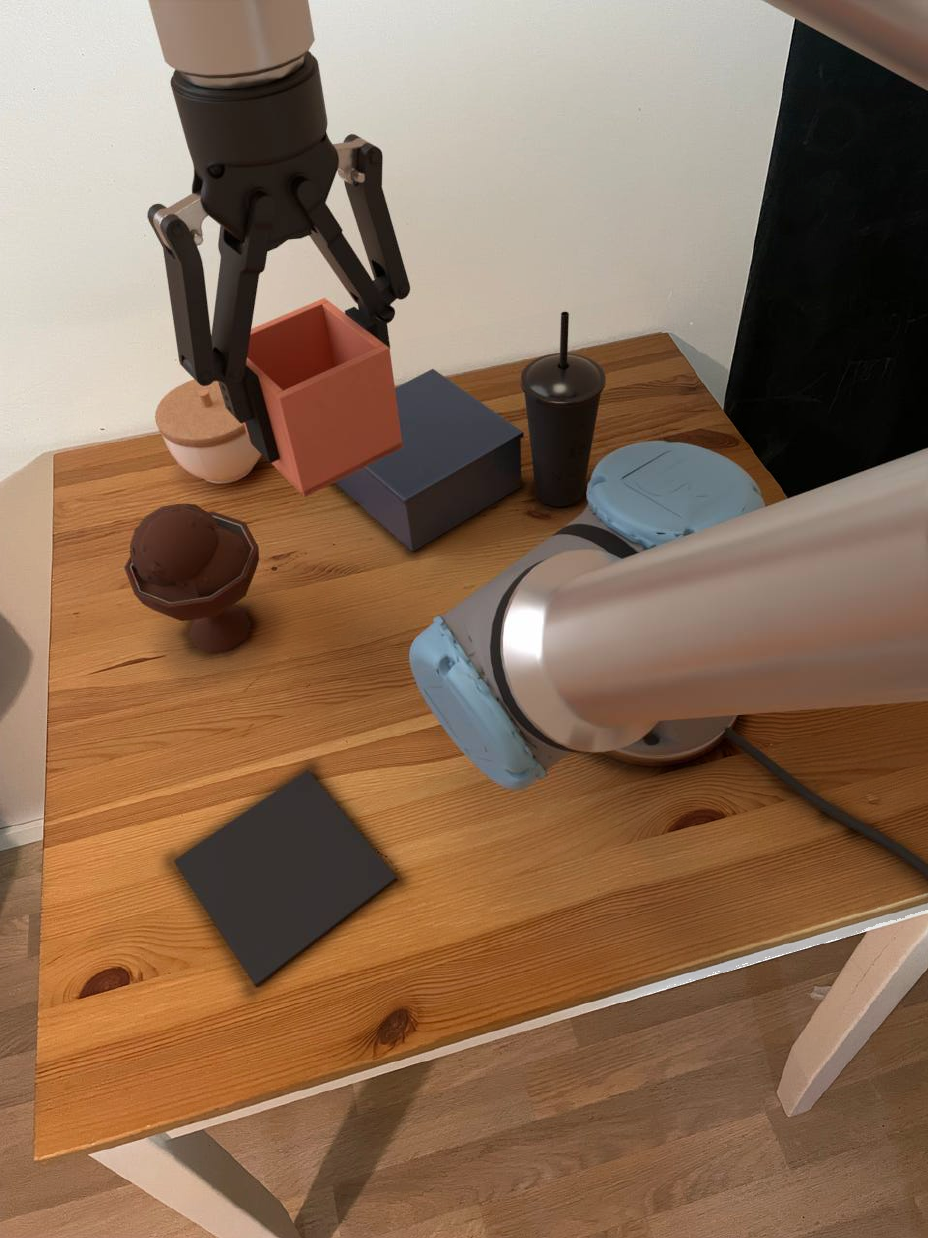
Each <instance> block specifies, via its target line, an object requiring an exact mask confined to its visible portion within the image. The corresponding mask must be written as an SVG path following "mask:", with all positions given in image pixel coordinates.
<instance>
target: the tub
mask: <svg viewBox="0 0 928 1238" xmlns="http://www.w3.org/2000/svg"><path fill="white" fill-rule="evenodd" d="M246 365H247V366H248V367H249V368H250V369H251V370H252V371H253V372H254V373H255V374H256V375H258V377H259V381H260V385H261V389H262V392H263V396H264V400H265V404H266V407H267V411H268V415H269V419H270V422H271V426H272V430H273V434H274V437H275V441H276V445H277V449H278V452H279V456H280V459H278V460H276V461H274V462H272V463H271V465H272V466H273V467H274V468H275V470H277V471H278V472H279V473H280V474H281V475H282V476H283V477H284V478H285V479H286V480H287V481H288V482H289V483H290V484H291V485H292V486H293V487H294V488H295V490H297V491H298V493H300V495H301V496H302V497H303V498H307V497H308V496H310V495H312V494H315V493H316V492H318V491H321V490H322V489H324V488H326V487H328V486H330V485H332V484H335V483H334V482H336V481H338V480H340V479H342V478H344V477H346V476H348V475H350V474H352V473H354V472H356V471H358V470H360V469H362V468H364V467H366V466H368V465H370V464H371V463H373V462H375V461H377V460H379V459H381V458H383V457H385V456H387V455H389V454H391V453H393V452H395V451H397V450H399V449H401V448H403V444H402V436H401V429H400V422H399V414H398V407H397V400H396V392H395V388H396V385H395V378H394V370H393V364H392V356H391V347H390V348H389V347H388V346H386V345H384V343H382V342H381V341H380V340H378V339H377V338H376V337H375V336H373V335H372V334H371V333H369V332H368V331H366V330H365V329H364V328H363V327H361V326H360V325H359V324H357V323H356V322H355V321H354V320H352V319H351V318H350V317H348V316H347V315H346V314H345V311H344V312H343V310H341V309H340V308H338V306H336V305H335V304H333V303H332V302H331V301H329V300H328V299H327V298H325V297H323V298H321V299H318V300H316V301H313V302H311V303H309V304H306V305H304V306H302V307H300V308H297V309H294V310H292V311H290V312H288V313H285V314H282V315H280V316H278V317H276V318H274V319H271V320H269V321H266V322H265V323H262V324H259V325H257V326H255V327H251V334H250V341H249V348H248V355H247V362H246ZM244 426H245V430H246V433H247V437H248V440H249V441H250V438H249V434H248V431H247V428H246V424H245V422H244ZM250 442H251V441H250Z"/></svg>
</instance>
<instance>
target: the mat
mask: <svg viewBox="0 0 928 1238" xmlns="http://www.w3.org/2000/svg"><path fill="white" fill-rule="evenodd" d="M173 863H174V864H175V865H176V867H177V868H178V870H179V871H180V873H181V874H182V876H183V877H184V879H185V881H186V882H187V884H188V885H189V886H190V888H191V889H192V891H193V893H194V894H195V896H196V897H197V899H198V900H199V902H200V903H201V905H202V907H203V908H204V909H205V911H206V913H207V914H208V916H209V917H210V919H211V921H212V922H213V923H214V925H215V926H216V928H217V929H218V931H219V932H220V934H221V935H222V937H223V938H224V941H225V942H226V943H227V944H228V946H229V948H230V950H231V951H232V952H233V954H234V955H235V957H236V959H237V960H238V962H239V963H240V964H241V966H242V969H244V971H245V973H246V974H247V975H248V977H249V978H250V980H251V982H252V983H253V985H254V987H259V986H260V985H261V984H262V983H264V982H265V981H266V980H267V979H269V978H271V976H273V975H274V974H276V972H278V971H279V970H281V969H282V968H283V967H285V966H286V965H287V964H288V963H290V962H291V961H293V960H294V959H295V958H296V957H297V956H299V955H300V954H301V953H303V952H304V951H306V950H307V949H308V948H309V947H311V946H312V945H313V944H314V943H316V942H317V941H319V940H320V939H321V938H322V937H324V936H325V935H327V934H328V933H329V932H330V931H332V930H333V929H334V928H335V927H337V926H338V925H339V924H341V923H342V922H343V921H345V920H346V919H347V918H349V917H350V916H351V915H352V914H354V913H355V912H356V911H358V910H359V909H360V908H361V907H363V906H365V905H366V904H367V903H368V902H369V901H371V900H372V899H373V898H375V897H376V896H377V895H379V894H380V893H381V892H382V891H384V890H385V889H387V888H388V887H389V886H390V885H392V884H393V883H394V882H396V881H397V880H398V879H397V876H396V874H395V873H394V872H393V871H392V870H391V868H389V866H388V865H387V863H386V862H385V861H384V860H383V859H382V857H381V856H380V855H379V854H378V852H377V851H376V850H375V849H374V848H373V847H372V845H371V844H370V843H369V841H368V840H367V839H366V838H365V837H364V836H363V835H362V834H361V832H360V831H359V829H358V828H357V826H355V824H354V823H353V822H352V821H351V820H350V819H349V818H348V816H347V815H346V814H345V813H344V812H343V810H342V809H341V808H340V806H339V805H338V804H337V802H335V800H334V799H333V798H332V797H331V796H330V794H329V793H328V792H327V790H325V788H324V787H323V786H322V784H321V783H320V782H319V781H318V780H317V778H316V777H315V776H314V775H313V773H312V772H311V771H310V770H309V769H306V770H304V771H303V772H302V773H300V774H299V775H297V776H296V777H294V778H293V779H291V780H290V781H289V782H287V783H285V784H284V785H283V786H281V787H280V788H278V789H277V790H275V791H273V792H272V793H271V794H269V795H268V796H266V797H265V798H263V799H262V800H261V801H259V802H257V803H256V804H254V805H253V806H252V807H250V808H249V809H247V810H246V811H244V812H242V814H240V815H238V816H237V817H235V818H234V819H233V820H231V821H230V822H228V823H226V824H225V825H223V826H222V827H220V828H219V829H218V830H216V831H214V832H213V833H212V834H211V835H209V836H208V837H206V838H205V839H203V840H202V841H200V842H199V843H196V845H194V846H192V847H191V848H189V849H188V850H187V851H185V852H184V853H182V854H181V855H179V856H178V857H176V858H175V859H174V860H173Z"/></svg>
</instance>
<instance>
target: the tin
mask: <svg viewBox="0 0 928 1238" xmlns="http://www.w3.org/2000/svg"><path fill="white" fill-rule="evenodd" d="M395 392H396V400H397V407H398V414H399V422H400V429H401V436H402V444H403V448H401V449H399V450H397V451H395V452H393V453H391V454H389V455H387V456H385V457H383V458H381V459H379V460H377V461H375V462H373V463H371V464H370V465H368V466H366V467H364V468H362V469H360V470H358V471H356V472H354V473H352V474H350V475H348V476H346V477H344V478H342V479H340V480H338V481H336V482H334V483H333V484H335V485H336V486H338V488H340V489H341V490H342V491H343V492H344V493H345V494H347V495H348V496H349V497H350V498H351V499H352V500H353V501H354V502H356V503H357V504H358V505H359V506H360V507H361V508H362V509H364V510H365V512H367V513H368V514H369V515H370V516H371V517H373V519H375V520H376V521H377V522H378V523H379V524H380V525H382V526H383V527H384V528H385V529H386V530H387V531H388V532H389V533H391V535H393V536H394V538H396V539H397V540H398V541H399V542H401V543H402V544H403V545H404V546H405V547H406V548H407V549H409V550H410V551H411V552H413V553H414V552H415V551H416V550H419V549H420V548H422V547H423V546H425V545H427V544H428V543H430V542H432V541H433V540H435V539H437V538H438V537H440V536H441V535H444V534H445V533H446V532H449V531H450V530H452V529H453V528H455V527H457V526H458V525H460V524H462V523H463V522H465V521H466V520H468V519H470V518H471V517H473V516H475V515H477V514H478V513H479V512H481V511H483V510H485V509H486V508H488V507H490V506H492V505H494V503H496V502H498V501H500V500H501V499H503V498H505V497H506V496H508V495H510V494H511V493H513V492H515V491H516V490H518V489H520V488H521V487H522V444H521V443H522V438H524V436H525V435H524V434H525V432H524V431H523V430H521V429H520V428H519V427H517V426H516V425H514V424H513V423H512V422H510V421H509V420H508V419H506V418H504V417H503V416H501V415H500V414H499V413H497V412H495V411H494V410H493V409H491V408H490V407H489V406H487V405H486V404H484V403H483V402H481V401H480V400H479V399H477V398H476V397H474V396H473V395H472V394H470V393H469V392H467V391H466V390H464V389H463V388H462V387H460V386H459V385H457V384H456V383H454V382H453V381H451V380H450V379H449V378H447V377H446V376H444V375H443V374H441V373H440V372H438V371H437V370H435V368H431V369H429V370H427V371H426V372H423V373H422V374H419V375H418V376H416V377H413V378H412V379H410V380H408V381H406V382H404V383H402V384H400V385H398V386H395Z"/></svg>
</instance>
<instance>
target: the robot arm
mask: <svg viewBox="0 0 928 1238" xmlns="http://www.w3.org/2000/svg"><path fill="white" fill-rule="evenodd" d="M761 1H762V2H764V3H766V4H768V5H770V6H772V7H774V8H775V9H777V10H779V11H780V12H783V13H784V14H786V15H787V16H790V17H792V18H793V19H795V20H797V21H799V22H801V23H803V24H805V25H806V26H808V27H811V28H812V29H814V30H815V31H817V32H819V33H821V34H823V35H824V36H827V37H828V38H830V39H832V40H834V41H836V42H838V43H840V44H841V45H843V46H845V47H847V48H848V49H850V50H852V51H854V52H856V53H858V54H859V55H861V56H863V57H865V58H866V59H869V60H871V61H872V62H874V63H876V64H877V65H880V66H881V67H884V68H885V69H887V70H889V71H890V72H893V73H894V74H896V75H898V76H899V77H902V78H904V79H905V80H907V81H909V82H911V83H913V84H914V85H916V86H918V87H919V88H921V89H924V90H926V91H928V0H761ZM147 2H148V5H149V8H150V9H149V10H150V12H151V17H152V20H153V23H154V26H155V31H156V34H157V38H158V42H159V45H160V49H161V53H162V56H163V59H164V62H165V63H166V64H167V65H168V66H169V67H170V68H173V69H174V71H173V74H172V75H171V78H170V88H171V91H172V95H173V98H174V102H175V106H176V109H177V113H178V116H179V120H180V124H181V127H182V132H183V135H184V138H185V143H186V146H187V149H188V151H189V155H190V158H191V161H192V165H193V178H192V179H193V180H192V184H191V194H189V195H187V196H186V197H184V198H182V199H180V200H179V201H177V202H175V203H173V204H172V205H170V206H168V207H167V206H165V205H164V204H162V203H155V204H152V205H151V206H150V207H149V208H148V211H147V219H148V222H149V224H150V226H151V227H152V231H153V232H154V234H155V235H156V238H157V239H158V241H159V243H160V245H161V247H162V250H163V257H164V264H165V265H164V266H165V272H166V279H167V286H168V293H169V300H170V306H171V315H172V321H173V328H174V334H175V342H176V349H177V356H178V363H179V365H180V366H181V367H182V368H183V369H184V370H185V372H187V374H189V375H190V377H191V378H193V380H194V379H195V380H196V381H197V382H198V383H199V384H200V385H202V386H208V385H210V384H211V383H212V382H213V381H218V383H219V386H220V390H221V393H222V396H223V399H224V403H225V406H226V409H227V410H228V411H229V412H230V413H231V414H232V415H233V416H234V417H235V418H236V419H237V420H238V421H239V422H240V423H241V424H242V423H244V422H245V424H246V428H247V431H248V434H249V438H250V441H251V444H252V445H253V446H254V447H255V448H256V449H257V450H258V451H259V452H260V453H261V454H262V455H261V456H263V458H264V459H265V460H266V461H267V462H268V463H269V464H272V462H274V461H276V460H278V459H280V456H279V452H278V449H277V445H276V441H275V437H274V434H273V430H272V426H271V422H270V419H269V415H268V411H267V407H266V404H265V400H264V396H263V392H262V389H261V385H260V381H259V377H258V375H256V374H255V373H254V372H253V371H252V370H251V369H250V368H249V367H248V366H247V365H246V362H247V355H248V348H249V341H250V334H251V329H252V328H253V321H254V320H253V319H254V313H255V312H254V311H255V306H256V300H257V293H258V286H259V279H260V274H262V273H263V272H264V271H265V269H266V263H267V256H268V252H271V251H273V250H275V249H278V248H279V247H281V245H283V244H284V243H286V242H287V241H291V240H299V239H300V240H301V239H303V238H306V237H308V236H309V238H310V239H311V241H312V242H313V244H314V245H315V247H316V248H317V249H318V251H319V252H320V254H321V255H322V257H323V258H324V260H325V261H326V262H327V264H328V265H329V267H330V268H331V270H332V271H333V272H334V275H336V277H337V278H338V280H339V281H340V283H341V285H342V286H343V287H344V289H345V290H346V291H347V293H348V294H349V296H350V297H351V298H352V300H353V302H354V303H355V304H357V307H356V306H352V307H350V308H348V309H344V313H345V314H346V315H347V316H348V317H350V318H351V319H352V320H354V321H355V322H356V323H357V324H359V325H360V326H361V327H363V328H364V329H365V330H366V331H368V332H369V333H371V334H372V335H373V336H375V337H376V338H377V339H378V340H380V341H381V342H382V343H384V345H386V346H388V347H389V348H390V349H391V344H390V338H389V337H390V336H389V328H388V324H389V323H391V322H392V321H393V320H394V318H395V316H396V310H395V308H394V307H393V306H392V304H393V303H394V302H395V301H396V300H397V299H398V300H401V301H402V300H405V299H406V298H407V297H408V296H409V294H410V291H411V285H410V281H409V277H408V274H407V271H406V270H407V269H406V267H405V263H404V261H403V260H404V259H403V256H402V253H401V249H400V246H399V242H398V239H397V236H396V231H395V227H394V225H393V221H392V218H391V214H390V210H389V207H388V204H387V199H386V196H385V193H384V189H383V159H384V155H383V152H382V150H381V148H380V147H378V146H377V145H375V144H373V143H371V142H370V141H367V140H366V139H364V138H362V137H360V136H358V135H357V134H356V133H355V134H354V133H351V134H348V135H347V136H346V137H345V138H344V139H343V142H339V143H338V142H337V143H332V141H331V139H330V138H329V136H328V132H327V129H328V117H327V116H328V115H327V111H326V110H327V109H326V102H325V96H324V90H323V85H322V77H321V71H320V65H319V61H318V59H317V58H316V56H315V55H314V54H312V52H311V51H310V49H311V47H312V46H313V44H314V42H315V40H316V39H315V38H316V37H315V33H314V27H313V21H312V14H311V8H310V4H309V0H147ZM337 174H338V176H339V178H340V179H341V180H342V181H343V184H344V188H345V191H346V195H347V198H348V201H349V203H350V207H351V210H352V212H353V216H354V220H355V222H356V226H357V229H358V232H359V236H360V239H361V241H362V245H363V247H364V248H363V249H364V251H365V254H366V257H367V260H368V263H369V267H370V269H371V270H370V271H371V273H372V276H373V279H372V276H371V275H370V274H369V272H368V271H367V269H366V268H365V266H364V264H363V263H362V261H361V260H360V258H359V257H358V255H357V254H356V252H355V250H354V249H353V247H352V246H351V244H350V243H349V241H348V240H347V238H346V237H345V235H344V233H343V231H344V230H343V228H342V226H341V225H340V223H339V222H338V220H337V218H336V217H335V216H334V215H333V213H332V211H331V209H330V208H329V206H328V204H327V200H328V198H329V194H330V192H331V188H332V186H333V183H334V182H335V181H334V180H335V178H336V176H337ZM207 217H210V218H211V219H212V220H213V221H214V222H216V223H217V224H218V225H219V234H218V242H217V248H218V252H219V256H220V262H219V269H218V278H217V286H216V294H215V302H214V311H213V320H212V325H211V321H210V313H209V305H208V297H207V296H208V295H207V288H206V287H207V286H206V278H205V277H206V276H205V269H204V262H203V258H202V256H201V255H202V254H201V252H200V250H199V248H198V247H199V246H201V245H202V244H203V242H204V237H203V229H202V228H203V227H202V226H203V222H204V220H205V219H206V218H207ZM211 326H212V327H211ZM586 487H587V488H586V492H585V494H586V500H587V505H586V506H585V508H584V510H583V511H582V512H581V513H580V514H579V515H577V516H576V517H575V518H574V519H573V520H571V521H570V522H568V523H567V524H566V525H564V526H563V527H561V528H560V529H559V530H557V531H556V532H555V533H553V534H552V535H551V536H549V537H548V538H546V539H544V540H543V541H542V542H541V543H539V544H538V545H536V546H535V547H534V548H532V549H531V550H530V551H528V552H527V553H526V554H524V555H523V556H522V557H520V558H519V559H517V560H516V561H515V562H514V563H512V564H511V565H508V566H507V567H506V568H505V569H503V570H502V571H501V572H500V573H498V574H497V575H496V576H494V577H493V578H492V579H490V580H489V581H487V582H486V583H485V584H483V585H482V586H481V587H479V588H478V589H476V590H475V591H474V592H472V593H471V594H470V595H468V596H467V597H465V598H464V599H463V600H462V601H460V602H459V603H457V604H456V605H455V606H453V607H452V608H451V609H450V610H448V611H446V612H445V613H444V614H442V615H440V614H439V615H437V616H435V617H433V622H432V624H430V625H429V626H427V627H426V628H425V629H424V630H422V632H421V633H419V634H418V635H417V636H416V637H415V638H414V640H413V641H412V643H411V645H410V648H409V652H408V653H409V654H408V659H409V660H408V661H409V667H410V670H411V674H412V676H413V678H414V681H415V683H416V685H417V687H418V690H419V692H420V694H421V696H422V698H423V700H424V701H425V703H426V704H427V706H428V708H429V710H430V711H431V712H432V714H433V716H434V717H435V718H436V720H437V722H438V723H439V724H440V726H441V727H442V728H443V730H444V731H445V733H446V734H447V735H448V737H449V738H450V739H451V740H452V741H453V743H454V744H455V745H456V746H457V748H458V749H459V750H460V752H461V753H462V754H464V756H465V757H466V758H467V759H468V760H469V761H470V762H471V763H472V764H473V765H474V766H475V768H477V770H479V771H480V772H481V774H483V775H484V776H486V777H487V778H488V779H489V780H490V781H492V782H493V783H495V784H496V785H497V786H500V787H501V788H503V789H505V790H509V791H511V792H523V791H526V790H527V789H529V788H531V786H533V785H534V784H535V783H536V782H537V781H539V780H540V781H543V780H546V778H547V777H548V776H549V774H548V773H547V771H548V770H549V769H551V768H552V767H553V766H555V765H556V764H558V763H559V762H560V761H562V760H563V759H565V758H566V757H568V756H570V755H572V754H586V753H590V754H591V753H601V754H603V755H605V756H607V757H609V758H612V759H613V760H618V761H620V762H624V763H626V764H627V763H628V764H631V765H636V766H645V767H667V766H673V765H674V766H675V765H679V764H684V763H687V762H690V761H693V760H696V759H698V758H700V757H702V756H705V755H706V754H708V753H709V752H711V751H712V750H714V749H715V748H716V747H718V746H719V745H720V744H721V743H722V742H723V741H724V740H725V739H727V740H728V741H730V742H731V743H732V744H733V745H735V746H736V747H737V748H739V749H740V750H741V751H743V752H744V753H745V754H747V755H748V756H749V757H751V758H752V759H753V760H755V762H757V763H758V764H759V765H761V766H762V767H763V768H765V769H767V771H769V772H770V773H771V774H772V775H774V776H775V777H777V779H779V780H780V781H782V782H783V783H784V784H785V785H786V786H787V787H789V788H790V789H791V790H793V791H794V792H795V793H796V794H798V795H799V796H801V797H802V798H803V799H804V800H806V801H807V802H808V803H810V804H812V805H813V807H816V808H817V809H819V810H820V811H821V812H823V813H825V814H826V815H828V816H829V817H831V818H833V819H834V820H836V821H838V822H839V823H841V824H843V825H844V826H847V827H848V828H850V829H852V830H854V831H855V832H857V833H859V834H861V835H863V836H864V837H866V838H868V839H869V840H871V841H873V842H875V843H877V844H879V845H880V846H882V847H883V848H885V849H886V850H888V851H890V852H891V853H892V854H894V855H896V856H897V857H899V858H900V859H901V860H903V861H904V862H906V863H907V864H908V865H909V866H911V867H912V868H914V869H915V870H916V871H918V872H919V873H920V874H922V875H923V876H924V877H925V878H926V879H928V863H927V862H925V861H924V860H923V859H922V858H920V857H919V856H918V855H916V854H915V853H914V852H912V851H911V850H909V849H908V848H907V847H905V846H903V845H902V844H901V843H899V842H897V841H896V840H894V839H892V838H891V837H890V836H888V835H886V834H884V833H883V832H880V831H879V830H878V829H876V828H874V827H873V826H870V825H868V824H867V823H865V822H863V821H861V820H859V819H858V818H856V817H854V816H852V815H851V814H849V813H847V812H845V811H844V810H842V809H840V808H839V807H837V806H836V805H833V804H832V803H830V802H829V801H827V800H826V799H824V798H823V797H821V796H820V795H819V794H817V793H815V792H814V791H812V790H811V789H810V788H809V787H807V786H806V785H804V784H803V783H802V782H801V781H799V780H798V779H797V778H795V776H793V775H792V774H791V773H790V772H788V771H787V770H785V769H784V768H783V767H782V766H781V765H779V764H778V763H777V762H775V761H774V760H773V759H771V758H770V757H769V756H767V755H766V754H765V753H764V752H762V751H761V750H760V749H758V748H757V747H756V746H755V745H753V744H752V743H750V741H747V739H745V738H744V737H743V736H741V735H740V734H738V733H737V732H736V731H735V730H733V728H734V725H735V724H736V722H737V719H738V716H740V715H755V714H770V713H782V712H783V713H785V712H794V711H795V712H796V711H809V710H821V709H835V708H836V709H837V708H838V709H839V708H849V707H861V706H863V707H864V706H876V705H878V706H879V705H889V704H903V703H904V704H905V703H916V702H928V447H925V448H923V449H921V450H918V451H915V452H913V453H909V454H907V455H905V456H902V457H898V458H895V459H893V460H891V461H888V462H885V463H882V464H880V465H877V466H874V467H872V468H871V467H870V468H869V469H866V470H864V471H860V472H857V473H854V474H852V475H849V476H846V477H844V478H840V479H839V480H836V481H833V482H830V483H827V484H825V485H821V486H819V487H815V488H814V489H811V490H809V491H808V490H807V491H805V492H802V493H800V494H798V495H794V496H791V497H789V498H786V499H783V500H781V501H778V502H775V503H772V504H770V505H767V506H766V503H765V500H764V499H763V497H762V492H761V489H760V487H759V486H758V484H757V483H756V481H755V480H754V479H753V477H752V476H751V475H750V474H749V473H748V472H747V471H746V470H745V469H743V468H742V466H740V465H738V464H737V463H736V462H734V461H733V460H731V459H729V458H728V457H726V456H724V455H722V454H720V453H718V452H715V451H713V450H711V449H708V448H706V447H703V446H700V445H695V444H692V443H687V442H686V443H685V442H680V441H676V442H674V441H673V442H672V441H671V442H670V441H665V440H649V441H641V442H640V441H639V442H635V443H631V444H627V445H624V446H621V447H619V448H617V449H615V450H613V451H611V452H609V453H608V454H607V455H605V456H604V457H603V458H601V459H600V460H599V462H598V463H597V465H596V466H595V467H594V469H593V471H592V473H591V476H590V479H589V481H588V483H587V485H586Z"/></svg>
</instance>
